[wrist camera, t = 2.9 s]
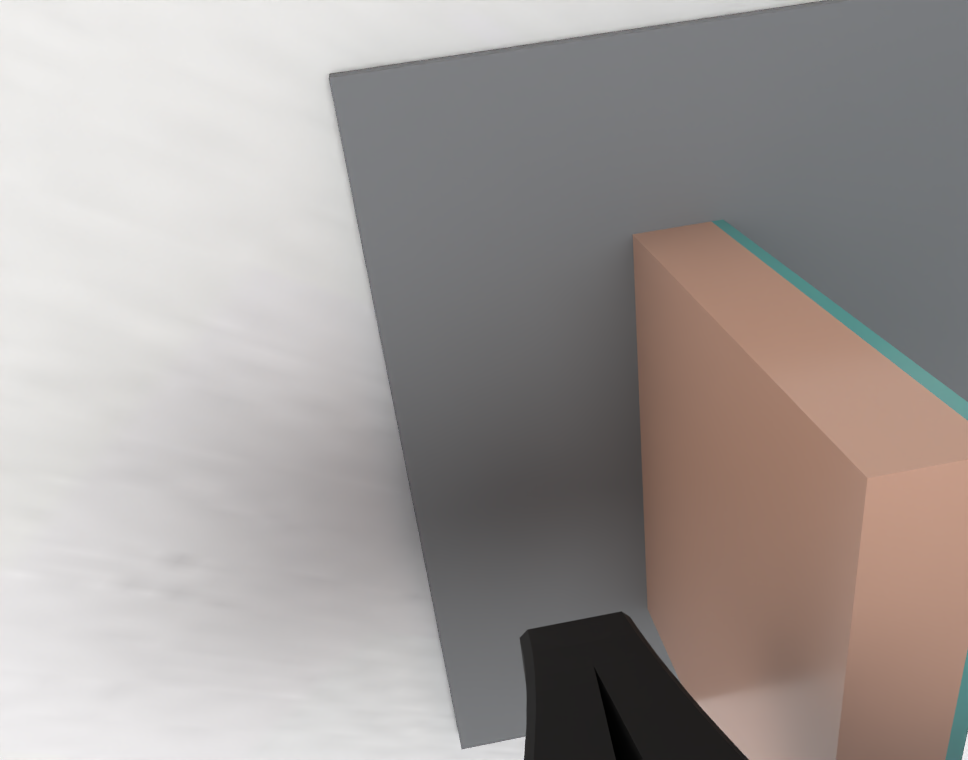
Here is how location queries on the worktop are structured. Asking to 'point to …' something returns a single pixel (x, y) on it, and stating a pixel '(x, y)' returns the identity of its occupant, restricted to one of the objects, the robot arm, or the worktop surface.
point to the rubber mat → (626, 271)
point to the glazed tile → (798, 510)
